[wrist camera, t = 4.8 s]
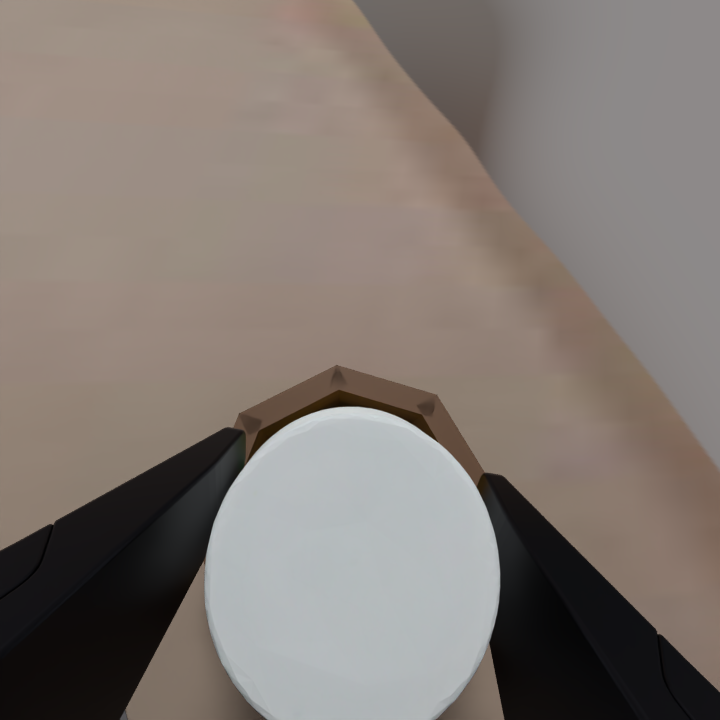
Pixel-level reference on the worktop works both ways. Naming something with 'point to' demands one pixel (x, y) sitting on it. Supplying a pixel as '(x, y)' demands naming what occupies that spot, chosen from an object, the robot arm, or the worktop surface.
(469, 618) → the supplement bottle
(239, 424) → the cup holder
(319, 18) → the worktop surface
